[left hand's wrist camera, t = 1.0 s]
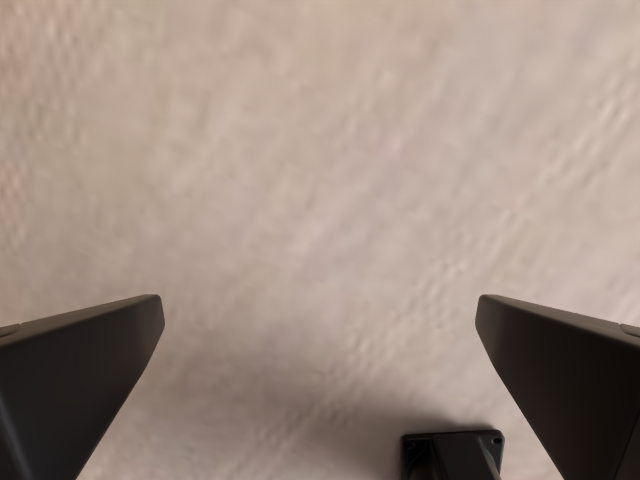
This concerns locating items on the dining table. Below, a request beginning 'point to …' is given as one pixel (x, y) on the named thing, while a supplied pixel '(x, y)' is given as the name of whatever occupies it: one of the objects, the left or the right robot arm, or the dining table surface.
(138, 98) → the dining table surface
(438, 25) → the dining table surface
